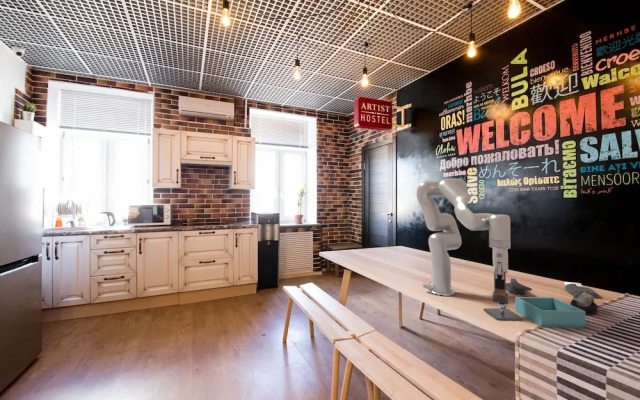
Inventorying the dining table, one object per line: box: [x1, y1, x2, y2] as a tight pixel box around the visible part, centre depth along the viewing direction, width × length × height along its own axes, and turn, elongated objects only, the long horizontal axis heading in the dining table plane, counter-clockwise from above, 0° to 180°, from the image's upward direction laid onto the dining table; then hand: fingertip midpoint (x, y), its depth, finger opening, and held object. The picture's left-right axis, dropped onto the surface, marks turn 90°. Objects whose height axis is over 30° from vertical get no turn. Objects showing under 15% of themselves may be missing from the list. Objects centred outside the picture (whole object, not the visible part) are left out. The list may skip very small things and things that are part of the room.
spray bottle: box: [563, 281, 599, 299], centre depth 146 cm, size 3×11×25 cm
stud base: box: [483, 303, 524, 321], centre depth 115 cm, size 10×10×6 cm
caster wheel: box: [570, 290, 599, 316], centre depth 119 cm, size 7×11×10 cm
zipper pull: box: [506, 278, 533, 296], centre depth 142 cm, size 9×7×25 cm
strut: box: [492, 270, 509, 305], centre depth 116 cm, size 5×5×12 cm
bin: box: [514, 296, 587, 328], centre depth 111 cm, size 16×16×6 cm
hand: (499, 286), depth 116 cm, fingers closed on strut, 4 cm apart
